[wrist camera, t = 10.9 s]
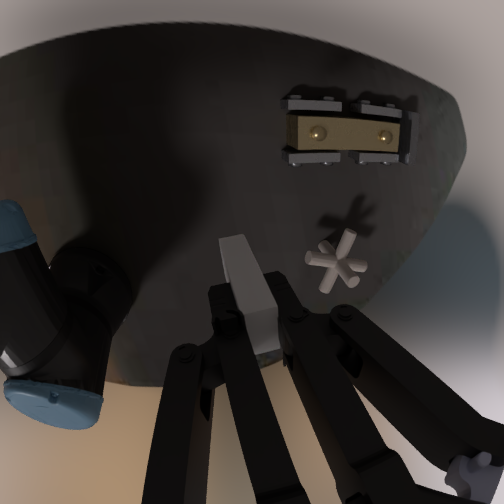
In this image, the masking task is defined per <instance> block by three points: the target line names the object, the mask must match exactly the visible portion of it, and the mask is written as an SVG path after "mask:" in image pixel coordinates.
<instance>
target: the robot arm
mask: <svg viewBox="0 0 504 504" xmlns="http://www.w3.org/2000/svg"><path fill="white" fill-rule="evenodd" d="M219 245H220V250H221V256H222V261H223V267H224V272H225V277H226V281H227V283H224V284H219V285H215V286H211V287H210V290H209V292H208V297H209V302H210V307H211V313H212V326H213V330H214V334H213V336H212V337H211V338H210V339H209V340H208V341H207V342H205V343H204V344H202V345H200V346H197V345H195V344H190V343H187V344H182V345H180V346H178V347H176V348H175V349H174V350H173V352H172V354H171V356H170V360H169V364H168V368H167V373H166V377H165V381H164V386H163V390H162V395H161V400H160V404H159V409H158V413H157V418H156V423H155V429H154V433H153V438H152V443H151V449H150V454H149V460H148V465H147V472H146V477H145V484H144V490H143V497H142V503H141V504H206V494H207V479H208V466H209V453H210V441H211V429H212V418H213V407H214V395H215V388H216V387H218V386H220V385H222V384H224V383H226V387H227V392H228V396H229V400H230V405H231V409H232V413H233V417H234V421H235V425H236V429H237V432H238V436H239V440H240V444H241V448H242V451H243V455H244V459H245V462H246V466H247V469H248V473H249V477H250V480H251V483H252V487H253V490H254V494H255V498H256V503H257V504H311V503H310V501H309V498H308V496H307V494H306V492H305V490H304V488H303V486H302V485H301V483H300V481H299V478H298V475H297V473H296V470H295V467H294V465H293V462H292V460H291V457H290V454H289V451H288V449H287V446H286V443H285V441H284V438H283V435H282V432H281V429H280V426H279V424H278V421H277V418H276V415H275V412H274V410H273V407H272V404H271V401H270V398H269V395H268V392H267V389H266V386H265V383H264V381H263V377H262V375H261V372H260V369H259V366H258V363H257V360H256V357H255V355H256V354H260V353H264V352H268V351H272V350H276V349H279V348H280V344H281V346H282V349H283V365H284V366H286V365H287V367H288V370H289V372H290V374H291V377H292V379H293V382H294V384H295V387H296V389H297V391H298V394H299V396H300V398H301V401H302V403H303V406H304V408H305V410H306V413H307V415H308V418H309V420H310V422H311V425H312V427H313V429H314V432H315V434H316V436H317V439H318V441H319V443H320V446H321V448H322V451H323V453H324V455H325V458H326V460H327V462H328V464H329V467H330V469H331V471H332V474H333V476H334V479H335V482H336V489H337V492H338V495H339V497H340V500H341V502H342V504H490V503H491V501H492V499H493V496H494V494H495V491H496V489H497V486H498V484H499V481H500V478H501V475H502V472H503V470H504V424H501V423H498V422H495V421H493V420H490V419H487V418H485V417H482V416H481V415H480V414H479V413H478V412H477V411H475V410H474V409H473V408H472V407H471V406H470V405H469V404H468V403H467V402H466V401H464V400H463V399H462V398H461V397H460V396H459V395H458V394H457V393H455V392H454V391H453V390H452V389H451V388H450V387H449V386H447V385H446V384H445V383H444V382H443V381H442V380H440V379H439V378H438V377H437V376H436V375H435V374H434V373H432V372H431V371H430V370H429V369H428V368H427V367H425V366H424V365H423V364H422V363H421V362H420V361H418V360H417V359H416V358H415V357H414V356H412V354H410V353H409V352H408V351H407V350H406V349H404V348H403V347H402V346H401V345H400V344H398V343H397V342H396V341H395V340H394V339H392V338H391V337H390V336H389V335H388V334H387V333H385V332H384V331H383V330H382V329H381V328H379V327H378V326H377V325H376V324H375V323H373V322H372V321H371V320H370V319H369V318H367V317H366V316H365V315H364V314H363V313H361V312H360V311H359V310H358V309H357V308H355V307H353V306H351V305H347V304H341V305H338V306H335V307H334V308H333V309H332V310H331V312H330V314H315V313H311V312H310V311H309V310H308V309H307V308H305V307H303V306H302V305H301V303H300V301H299V300H298V298H297V296H296V294H295V293H294V291H293V289H292V288H291V286H290V284H289V283H288V281H287V279H286V277H285V275H283V274H282V273H280V272H279V271H275V272H270V273H266V274H262V272H261V270H260V268H259V266H258V263H257V261H256V259H255V257H254V255H253V253H252V251H251V249H250V247H249V244H248V242H247V240H246V238H245V236H244V234H240V235H235V236H230V237H225V238H221V239H219ZM131 301H132V291H131V286H130V283H129V281H128V278H127V277H126V275H125V273H124V272H123V271H122V269H121V268H120V267H119V266H118V265H117V264H116V263H115V262H114V261H113V260H111V259H110V258H109V257H107V256H105V255H104V254H102V253H100V252H97V251H95V250H92V249H87V248H70V249H67V250H64V251H62V252H60V253H59V254H57V255H56V256H55V257H54V258H53V260H52V261H51V263H50V264H49V266H48V265H47V263H46V261H45V259H44V257H43V255H42V252H41V250H40V248H39V246H38V243H37V236H36V234H34V233H33V232H32V230H31V228H30V225H29V223H28V221H27V219H26V216H25V214H24V212H23V209H22V208H21V206H20V205H19V204H18V203H17V202H15V201H13V200H1V201H0V369H1V370H2V371H3V373H4V374H5V375H6V376H7V380H6V381H5V382H4V384H3V385H4V394H5V398H6V399H7V401H8V402H9V403H10V404H11V405H12V406H13V407H14V408H16V409H17V410H19V411H20V412H21V413H23V414H25V415H26V416H28V417H30V418H33V419H34V420H37V421H39V422H42V423H44V424H48V425H51V426H54V427H59V428H64V429H73V430H81V429H87V428H90V427H92V426H93V425H94V424H95V423H96V422H97V421H98V419H99V415H100V411H101V406H102V403H103V401H104V398H103V390H104V382H105V376H106V370H107V364H108V358H109V352H110V347H111V341H112V337H113V336H114V334H115V333H116V331H117V330H118V328H119V327H120V326H121V325H122V323H123V322H124V321H125V320H126V318H127V316H128V314H129V310H130V306H131ZM353 385H354V386H355V387H356V388H357V389H358V390H359V391H360V392H361V393H362V394H363V396H364V397H365V398H367V400H368V401H369V402H370V403H371V404H372V405H373V406H374V407H375V408H376V409H377V410H378V411H379V412H380V413H381V414H382V415H383V416H384V417H385V418H386V419H387V420H388V421H389V422H390V423H391V424H392V425H393V426H394V427H395V428H396V429H397V430H398V431H399V432H400V433H401V434H402V435H403V436H404V437H405V438H406V439H407V440H408V441H409V442H410V443H411V444H412V445H413V446H414V447H415V448H416V449H417V450H418V451H419V452H420V453H421V454H422V455H423V456H424V457H425V458H426V459H427V460H428V461H429V462H430V463H432V464H433V465H435V466H436V467H438V468H439V469H441V470H443V471H445V472H447V475H446V477H445V483H446V485H449V486H451V487H452V488H454V489H455V490H456V492H457V495H458V496H454V495H450V494H446V493H443V492H440V491H436V490H433V489H430V488H427V487H424V486H421V485H418V484H415V482H414V480H413V478H412V476H411V475H410V473H409V471H408V469H407V467H406V465H405V463H404V462H403V460H402V458H401V457H400V455H399V454H398V453H397V452H396V451H394V450H392V449H389V448H388V447H387V446H386V444H385V442H384V441H383V439H382V437H381V435H380V433H379V432H378V430H377V428H376V426H375V424H374V422H373V421H372V419H371V417H370V415H369V413H368V411H367V410H366V408H365V406H364V404H363V402H362V401H361V399H360V397H359V395H358V393H357V392H356V390H355V388H354V386H353Z"/></svg>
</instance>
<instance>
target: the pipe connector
mask: <svg viewBox="0 0 504 504" xmlns="http://www.w3.org/2000/svg"><path fill="white" fill-rule="evenodd" d="M356 235H357V233H356V232H355V231H353V230H351V229H348V228H346V229H345V231H344V233H343V235H342V238H341V240H340V242H339V244H338V247H337V249H336V250H335V249H334V248H333V247H332V245H331V244H330V243H329V242H328V241H327V240H323V241H321V242H320V243H319V246H318V247H319V249H320V250H321V252H322V253H320V252H314V251H308V252H307V253H306V256H305V262H306V263H307V264H311V265H317V266H324V267H328V269H327V271H326V273H325V275H324V277H323V280H322V282H321V284H320V286H319V290H320V291H321V292H323V293H329V292H330V290H331V288H332V286H333V284H334V282H335V280H336V278H337V276H338V274H339V275H340V276H341V278H342V279H343V280H344V282H345V283H346V284H347V285H348V287H350V288H353V287H355V286H356V285H357V284H358V283H359V277H358V276H357V275H356V274H355V272H354V271H359V272H365V270H366V269H367V262H366V261H365V260H360V259H354V258H349V257H347V255H348V253H349V251H350V248H351V246H352V244H353V242H354V240H355V237H356Z"/></svg>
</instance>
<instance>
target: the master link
mask: <svg viewBox="0 0 504 504" xmlns="http://www.w3.org/2000/svg"><path fill="white" fill-rule="evenodd" d="M286 125H287V144H288V145H290V146H292V147H294V148H296V149H298V150H312V149H338V150H373V151H391V152H398V143H399V131H400V124H397V123H393V122H388V121H384V120H377V119H368V118H358V117H346V116H331V115H307V114H286Z"/></svg>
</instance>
